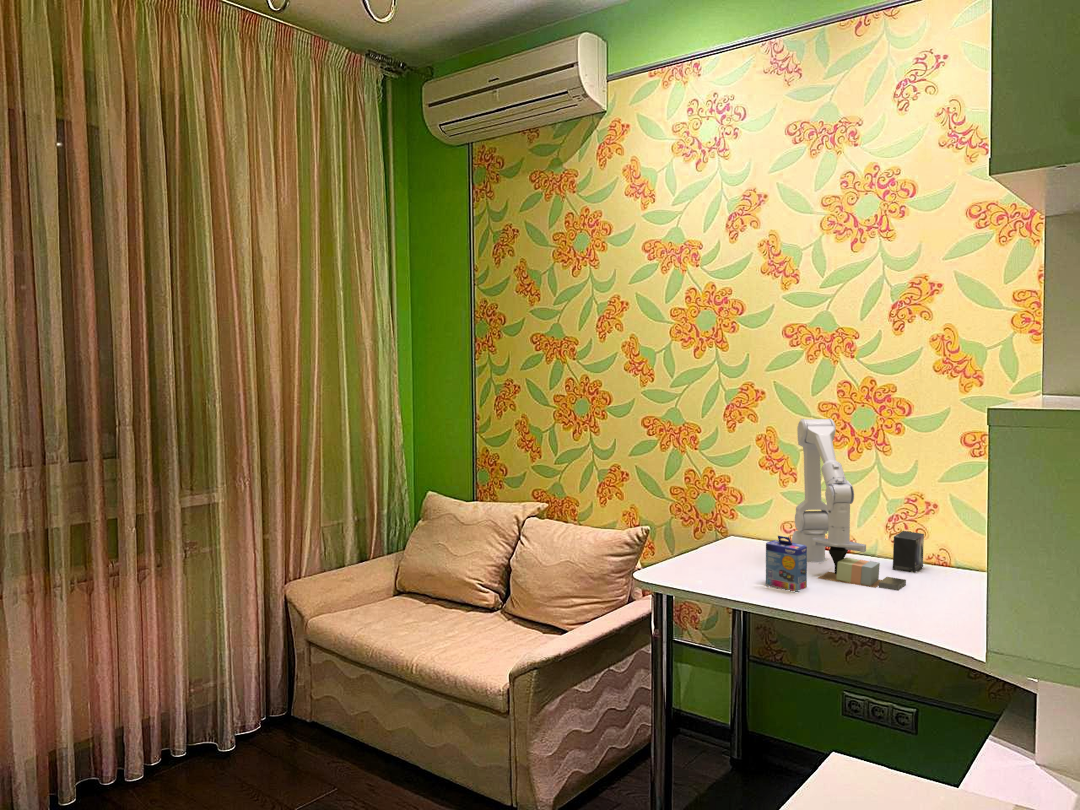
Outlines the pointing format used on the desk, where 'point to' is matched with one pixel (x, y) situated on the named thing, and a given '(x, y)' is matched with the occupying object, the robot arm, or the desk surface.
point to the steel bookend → (892, 583)
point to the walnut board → (832, 577)
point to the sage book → (845, 569)
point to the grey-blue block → (870, 573)
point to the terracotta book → (857, 571)
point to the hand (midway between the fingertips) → (838, 573)
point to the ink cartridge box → (786, 564)
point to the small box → (908, 551)
